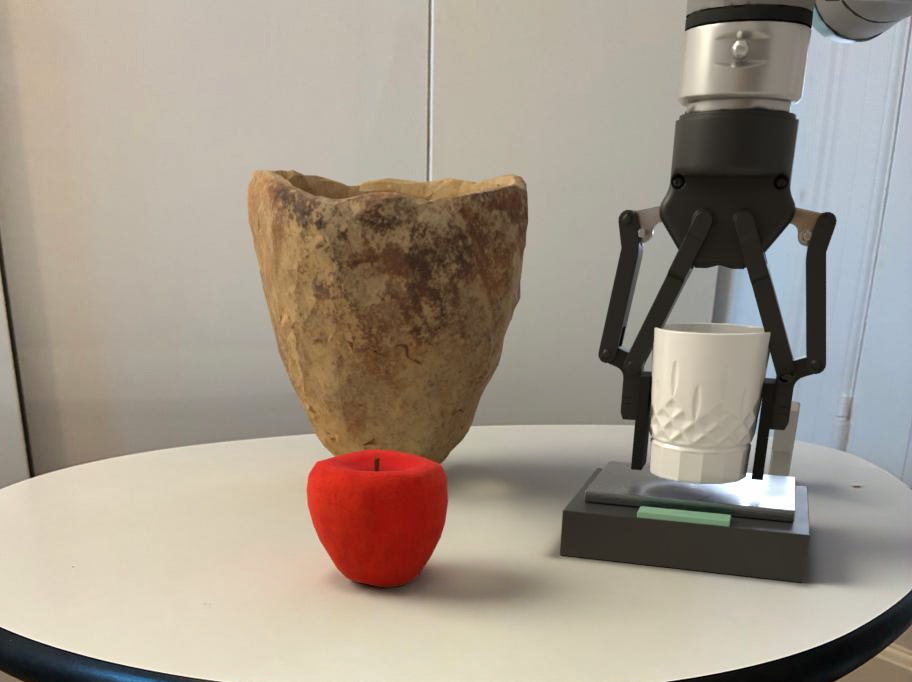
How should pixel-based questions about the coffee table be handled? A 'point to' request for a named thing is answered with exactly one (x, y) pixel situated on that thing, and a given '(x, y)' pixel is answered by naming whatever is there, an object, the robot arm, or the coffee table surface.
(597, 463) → the coffee table surface
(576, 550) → the scale
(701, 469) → the white cup
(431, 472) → the apple
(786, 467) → the beige upright slab
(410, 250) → the brown clay pot
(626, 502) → the scale pan
